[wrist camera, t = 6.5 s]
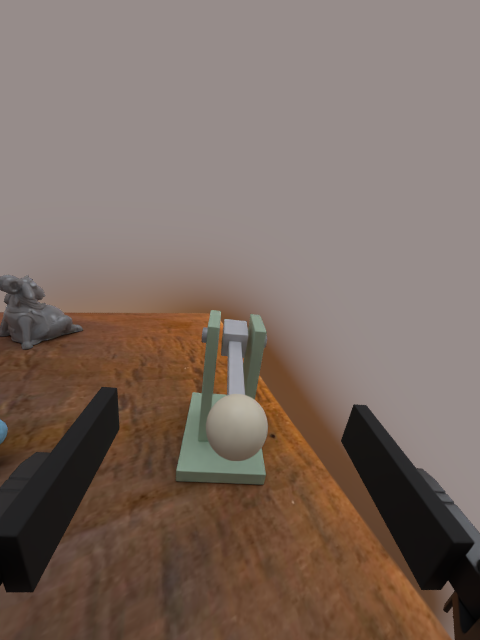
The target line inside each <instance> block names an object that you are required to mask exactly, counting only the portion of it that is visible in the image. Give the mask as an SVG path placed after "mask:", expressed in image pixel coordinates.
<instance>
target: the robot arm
mask: <svg viewBox="0 0 480 640" xmlns="http://www.w3.org/2000/svg"><path fill="white" fill-rule="evenodd" d="M118 431H119V413H118V395H117V388H110V387H101V389H100V390H99V391H98V393H97V394H96V395H95V396H94V398H93V399H92V400H91V402H90V403H89V404H88V405H87V407H86V408H85V409H84V411H83V412H82V413H81V414H80V416H79V417H78V418H77V420H76V421H75V422H74V423H73V425H72V426H71V427H70V429H69V430H68V431H67V432H66V434H65V435H64V436H63V438H62V439H61V440H60V441H59V443H58V444H57V445H56V447H55V448H54V449H53V450H52V452H51V453H44V452H36V453H35V454H33V455H32V456H31V457H29V458H28V459H26V460H25V461H24V462H22V463H21V464H20V465H19V466H18V467H17V469H16V470H15V471H14V472H13V473H12V474H11V475H10V477H9V479H8V480H6V481H5V482H4V484H3V485H2V486H1V487H0V586H1V584H2V582H3V584H4V587H5V590H6V592H33V591H34V589H35V587H36V586H37V584H38V582H39V580H40V578H41V576H42V574H43V572H44V570H45V569H46V567H47V565H48V563H49V561H50V559H51V557H52V555H53V553H54V552H55V550H56V548H57V546H58V544H59V542H60V540H61V538H62V536H63V535H64V533H65V531H66V529H67V527H68V525H69V523H70V521H71V519H72V518H73V516H74V514H75V512H76V510H77V508H78V506H79V504H80V502H81V501H82V499H83V497H84V495H85V493H86V491H87V489H88V487H89V485H90V484H91V482H92V480H93V478H94V476H95V474H96V472H97V470H98V468H99V467H100V465H101V463H102V461H103V459H104V457H105V455H106V453H107V451H108V450H109V448H110V446H111V444H112V442H113V440H114V438H115V436H116V434H117V433H118ZM341 442H342V444H343V446H344V447H345V449H346V451H347V453H348V455H349V457H350V458H351V460H352V462H353V464H354V466H355V468H356V470H357V471H358V473H359V475H360V477H361V479H362V481H363V483H364V484H365V486H366V488H367V490H368V492H369V494H370V495H371V497H372V499H373V501H374V503H375V505H376V507H377V508H378V510H379V512H380V514H381V516H382V518H383V519H384V521H385V523H386V525H387V527H388V529H389V530H390V532H391V534H392V536H393V538H394V540H395V542H396V544H397V545H398V547H399V549H400V551H401V553H402V555H403V556H404V558H405V560H406V562H407V564H408V566H409V567H410V569H411V571H412V573H413V575H414V577H415V579H416V580H417V582H418V584H419V586H420V588H421V590H441V589H442V588H443V586H444V585H445V584H446V582H447V581H449V582H450V584H451V585H452V587H453V588H454V590H455V591H454V593H453V594H452V595H451V597H450V598H449V599H448V601H447V602H446V603H445V605H444V609H443V610H444V611H445V612H446V613H448V611H449V610H450V609H451V607H452V606H453V619H454V634H455V640H480V533H479V532H478V530H477V529H476V528H475V527H474V526H473V524H472V523H471V522H470V521H469V520H468V519H467V517H466V516H465V515H464V514H463V513H462V511H461V510H460V509H459V508H458V506H457V505H455V504H454V502H453V501H452V499H451V498H450V497H449V496H448V495H447V494H446V493H445V491H444V490H443V489H442V487H441V486H440V485H439V484H438V482H437V481H436V480H435V479H434V478H433V477H431V476H430V475H429V474H428V473H427V472H426V471H424V470H423V469H418V468H416V467H415V466H414V465H413V464H412V462H411V461H410V460H409V459H408V458H407V456H406V455H405V454H404V452H403V451H402V450H401V449H400V447H399V446H398V445H397V444H396V442H395V441H394V440H393V438H392V437H391V436H390V435H389V433H388V432H387V431H386V430H385V429H384V427H383V426H382V425H381V423H380V422H379V421H378V420H377V418H376V417H375V416H374V414H373V413H372V412H371V411H370V409H369V408H368V407H367V406H366V405H353V408H352V411H351V414H350V417H349V420H348V423H347V425H346V428H345V431H344V434H343V437H342V440H341Z"/></svg>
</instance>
